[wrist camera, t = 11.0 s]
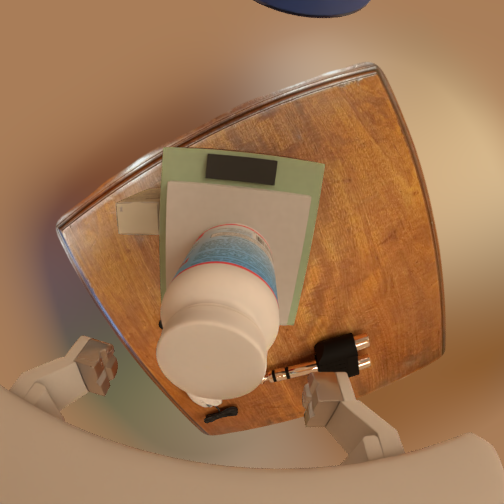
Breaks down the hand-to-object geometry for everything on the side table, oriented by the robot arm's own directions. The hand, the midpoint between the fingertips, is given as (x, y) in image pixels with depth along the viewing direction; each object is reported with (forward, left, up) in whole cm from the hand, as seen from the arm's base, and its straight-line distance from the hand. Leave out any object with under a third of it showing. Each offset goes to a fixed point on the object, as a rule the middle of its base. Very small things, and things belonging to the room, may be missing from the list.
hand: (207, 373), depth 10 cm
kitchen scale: (-1, 0, -14) cm, 14 cm away
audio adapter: (+31, +17, -36) cm, 50 cm away
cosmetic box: (+1, -13, -36) cm, 38 cm away
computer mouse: (+47, -5, -36) cm, 59 cm away
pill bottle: (0, 0, -12) cm, 12 cm away
